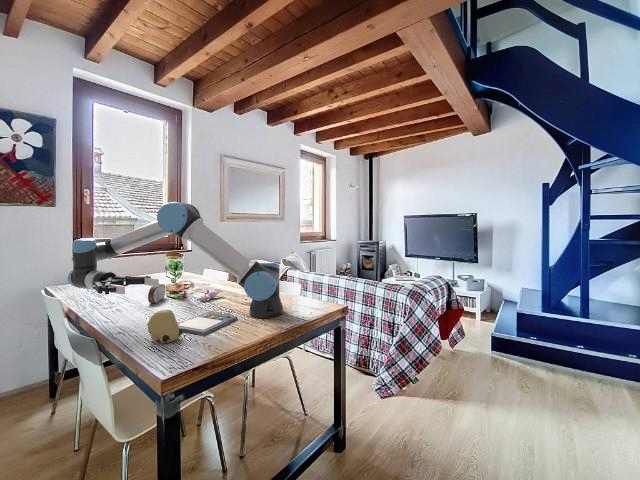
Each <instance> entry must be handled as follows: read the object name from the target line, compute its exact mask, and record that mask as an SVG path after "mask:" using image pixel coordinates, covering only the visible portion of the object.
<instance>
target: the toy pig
mask: <svg viewBox="0 0 640 480" xmlns="http://www.w3.org/2000/svg"><path fill="white" fill-rule="evenodd" d="M146 326H147V329H148V332H149V335H150V336H151V339H152V340H158V341H160V342H161V343H162V344H170V343H172V342H175V341H177V340H179V338H180V337H181V336H182V335H183V332H182V330H181V329H179V327H178V320H177V318H176V316H175V313H174V312H173V311H172V310H171V309H162V310H161V309H160V310H159V311H156V312H155V313H153V314H152V316H150V318H149V319H148V322H147V324H146Z"/></svg>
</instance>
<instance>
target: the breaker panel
mask: <svg viewBox="0 0 640 480" xmlns="http://www.w3.org/2000/svg"><path fill="white" fill-rule="evenodd" d="M237 320H238V316H237V315H231V314H230V311H224V312H223V310H216V311H215V310H214V309H209V310H208V311H207V312H203V313H201V314H199V315H196V316H193V317H191V318H189V319H187V320H184V321H181V322H179V323H178V322H177V323H178V327H179V329H181V330H182V333H187V334H193V335H200V336H206V335H208V334H210V333H212V332H214V331H216V330H218V329H220V328H222V327H225V326H226V325H228V324H230V323H233V322H235V321H237Z"/></svg>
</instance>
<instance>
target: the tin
mask: <svg viewBox="0 0 640 480" xmlns="http://www.w3.org/2000/svg"><path fill="white" fill-rule="evenodd" d="M166 287H167V286H166V285H165V284H163V283H159V286H151V287H149V288H150V289H149V290H148V294H147V301H148V302H149V304H157V303H158V302H160V301H162V300H164V298H165V297H166V296H165V295H166Z"/></svg>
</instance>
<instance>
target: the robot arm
mask: <svg viewBox="0 0 640 480" xmlns="http://www.w3.org/2000/svg"><path fill="white" fill-rule="evenodd" d="M172 234H173V235H175V236H176V237H177V238H179V240H182V242H186V241H187V242H188V241H189V242H190V243H192V245H194V246H195V247H196V248H198V249H200V251H202V252H203V253H205V255H207V256H208V257H209V258H211V260H213V261H214V262H215V263H217V264H219V266H221V267H222V268H223V269H225V270H226V271H228V272H229V273H230V274H232V276H234V277H235V278H236V281H237V282H236V283H237V284H238V285H239V286H240V287H241V288H243V289H244V292H245V294H246V295H247V296H248V297H249V298H250V299H251V302H250V303H251V304H250V306H249V310H248V311H249V312H248V313H249V315H250V316H251V317H253V318H256V319H257V318H258V319H271V318H276V317H280V316H282V315H283V314H284V306H283V303H282V300H281V297H280V271H281V270H280V264H279V263H278V262H259V261H258V260H249V258H247V257H246V256H245V255H243V254H242V253H241V252H240V251H238V250H237V249H236V248H235V247H233V246H232V245H231V244H230V243H228V242H227V241H226V240H225V239H224V238H222V237H221V236H219V234H217V233H216V232H214V231H213V230H212V229H211V228H210V227H208V226H206V224H205V223H204V218H203V217H202V216H201V213H200V211H199V210H198V208H197V207H196V206H194V204H190V203H185V202H179V201H171V202H166V203H164V204H163V205H161V207H160V208H159V209H158V211H157V213H156V220H155V221H152V222H150V223H147V224H145V225H142V226H140V227H137V228H135V229H133V230H130V231H127V232H125V233H122V234H120V235H117V236H114V237H112V238H110V239H107V240H104V241H101V242H97V240H96V239H94V238H82V239H81V238H80V239H75V240H73V241H72V250H71V251H72V266H73V268H72V270H71V271H70V272H69V273H68V275H67V282H68V284H69V285H70V286H73V287H75V288H79V289H86V290H91V291H92V290H93V291H96V292H97V294H103V292H104V295H106V296H107V295H110V293H113V294H118V295H125V294H126V287H128V286H129V285H130V286H132V285H133V286H134V285H145V286H151V287H152V286H159V284H160V282H159V281H160V279H159V278H152V276H149V275H145V276H130V275H126V276H117V274H116V273H115V272H112V271H107V270H106V271H104V270H98V261H103V260H104V261H105V260H108V259H109V260H111V259H113V258H116V257H118V256H119V255H121V254H123V253H124V254H125V252H129V251H132V250H133V249H136V248H139V247H142V246H144V245H146V244H149V243H152V242H154V241H157V240H160V239H163V238H164V237H168V236H169V235H172Z"/></svg>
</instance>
